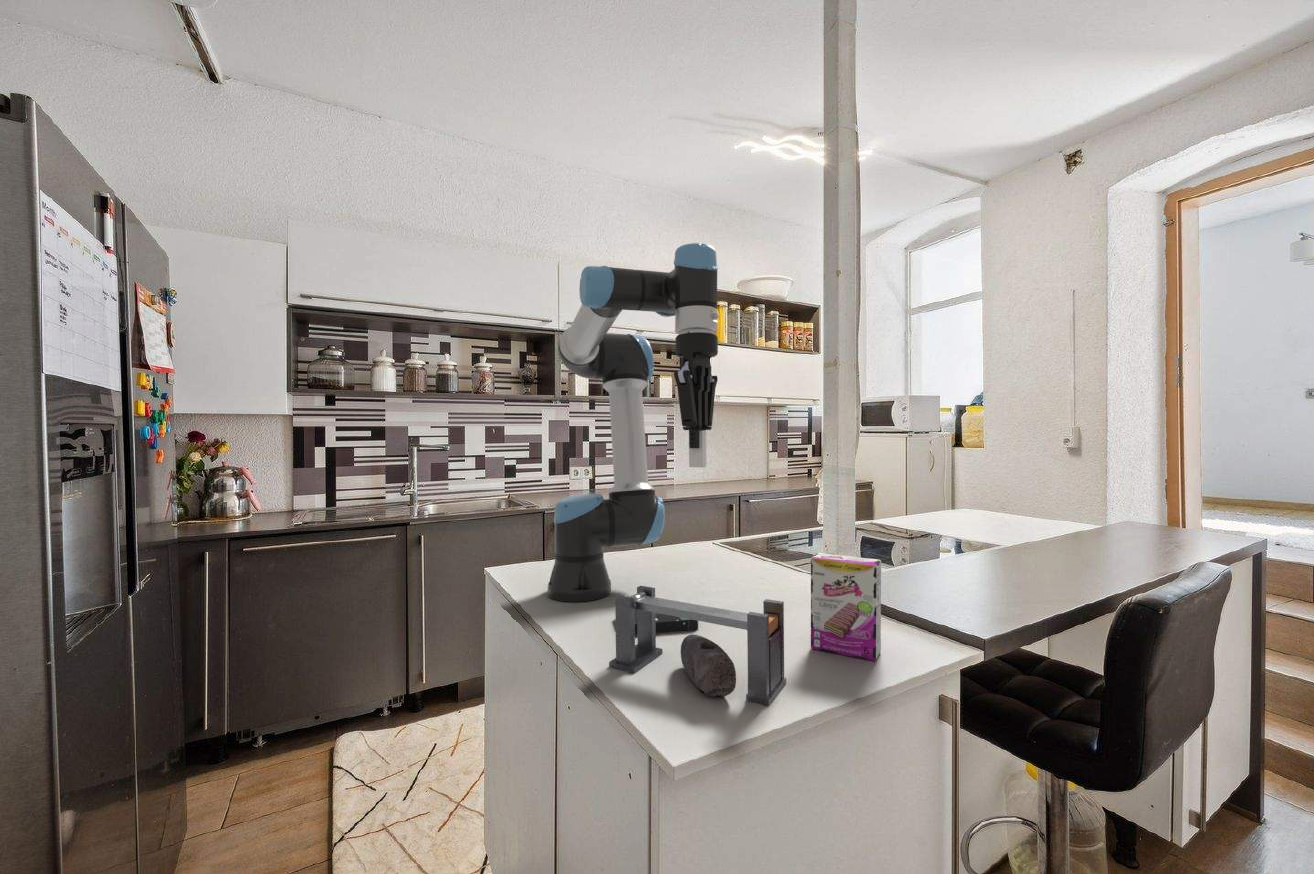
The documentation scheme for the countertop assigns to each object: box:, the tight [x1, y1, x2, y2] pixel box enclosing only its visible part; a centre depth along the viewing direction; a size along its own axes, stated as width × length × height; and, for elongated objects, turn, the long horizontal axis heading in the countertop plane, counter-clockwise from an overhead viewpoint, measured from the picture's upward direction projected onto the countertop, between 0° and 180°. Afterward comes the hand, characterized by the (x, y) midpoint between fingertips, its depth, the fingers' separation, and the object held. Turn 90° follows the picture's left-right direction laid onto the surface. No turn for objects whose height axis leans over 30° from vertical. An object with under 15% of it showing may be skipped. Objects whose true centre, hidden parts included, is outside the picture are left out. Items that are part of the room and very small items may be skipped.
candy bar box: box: [810, 552, 882, 662], centre depth 96 cm, size 11×5×16 cm, turn 59°
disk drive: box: [635, 609, 699, 636], centre depth 111 cm, size 10×3×15 cm
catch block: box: [745, 598, 787, 707], centre depth 81 cm, size 8×3×12 cm, turn 149°
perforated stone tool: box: [680, 634, 737, 698], centre depth 85 cm, size 15×5×7 cm, turn 17°
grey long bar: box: [630, 592, 778, 635], centre depth 87 cm, size 5×25×2 cm, turn 59°
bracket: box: [608, 585, 664, 674], centre depth 93 cm, size 9×5×12 cm, turn 149°
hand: (697, 466), depth 98 cm, fingers closed
